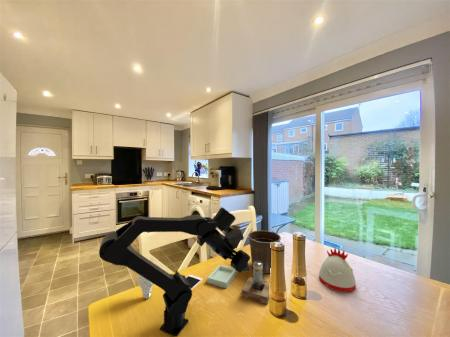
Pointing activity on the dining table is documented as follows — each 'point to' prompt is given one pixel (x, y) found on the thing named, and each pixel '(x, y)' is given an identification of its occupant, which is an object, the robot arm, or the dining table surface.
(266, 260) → the plant pot
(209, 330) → the dining table surface
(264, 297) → the socket block
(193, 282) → the cell phone
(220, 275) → the tray
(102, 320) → the dining table surface
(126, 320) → the dining table surface
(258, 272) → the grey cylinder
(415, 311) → the dining table surface
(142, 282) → the light bulb
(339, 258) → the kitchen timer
